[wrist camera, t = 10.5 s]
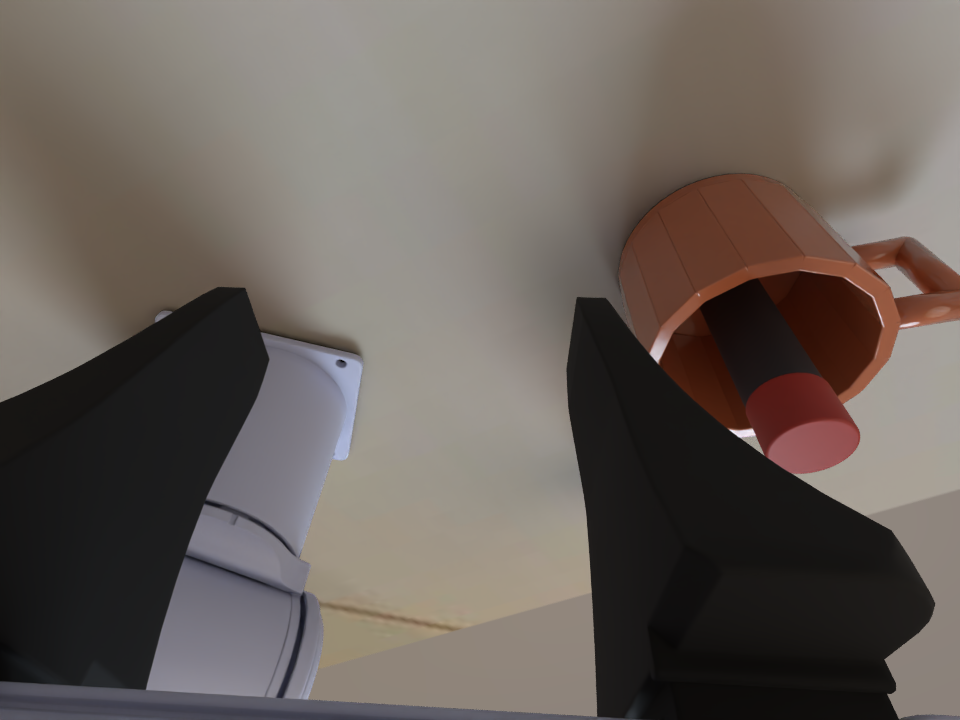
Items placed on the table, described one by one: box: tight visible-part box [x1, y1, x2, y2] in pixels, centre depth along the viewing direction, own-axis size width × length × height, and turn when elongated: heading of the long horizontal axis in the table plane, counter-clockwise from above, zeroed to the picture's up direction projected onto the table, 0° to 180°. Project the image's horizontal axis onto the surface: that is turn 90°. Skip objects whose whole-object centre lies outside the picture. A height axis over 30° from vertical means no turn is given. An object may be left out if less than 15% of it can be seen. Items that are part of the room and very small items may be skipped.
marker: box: [699, 278, 860, 474], centre depth 17 cm, size 2×2×9 cm
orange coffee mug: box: [619, 174, 960, 438], centre depth 19 cm, size 10×7×6 cm
